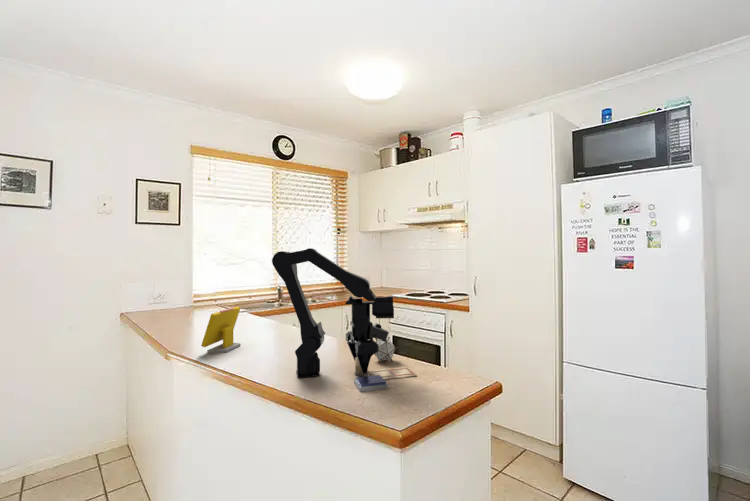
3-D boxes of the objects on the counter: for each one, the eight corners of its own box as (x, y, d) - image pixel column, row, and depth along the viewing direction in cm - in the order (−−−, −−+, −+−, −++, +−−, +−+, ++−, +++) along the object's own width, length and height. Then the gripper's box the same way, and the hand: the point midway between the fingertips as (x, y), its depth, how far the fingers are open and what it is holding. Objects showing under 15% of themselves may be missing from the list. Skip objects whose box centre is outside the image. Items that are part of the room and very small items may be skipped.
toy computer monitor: (228, 342, 164) (228, 305, 164) (246, 343, 163) (245, 305, 163) (201, 355, 144) (200, 312, 144) (220, 355, 143) (220, 313, 143)
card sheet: (375, 380, 113) (375, 379, 113) (367, 371, 122) (367, 370, 122) (416, 376, 117) (416, 375, 117) (406, 367, 125) (406, 366, 125)
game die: (388, 373, 132) (394, 354, 127) (365, 363, 134) (370, 343, 128) (396, 354, 139) (402, 336, 134) (374, 345, 141) (379, 326, 135)
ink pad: (359, 391, 104) (359, 385, 104) (354, 383, 111) (354, 377, 111) (388, 388, 106) (388, 382, 106) (380, 380, 113) (380, 374, 113)
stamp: (356, 377, 117) (356, 353, 117) (353, 373, 121) (353, 350, 121) (369, 375, 118) (369, 352, 118) (366, 371, 122) (365, 349, 122)
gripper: (395, 322, 113) (395, 375, 112) (377, 312, 131) (377, 359, 130) (358, 324, 110) (358, 379, 109) (345, 314, 127) (345, 361, 127)
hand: (361, 369), depth 119 cm, fingers open, 8 cm apart
